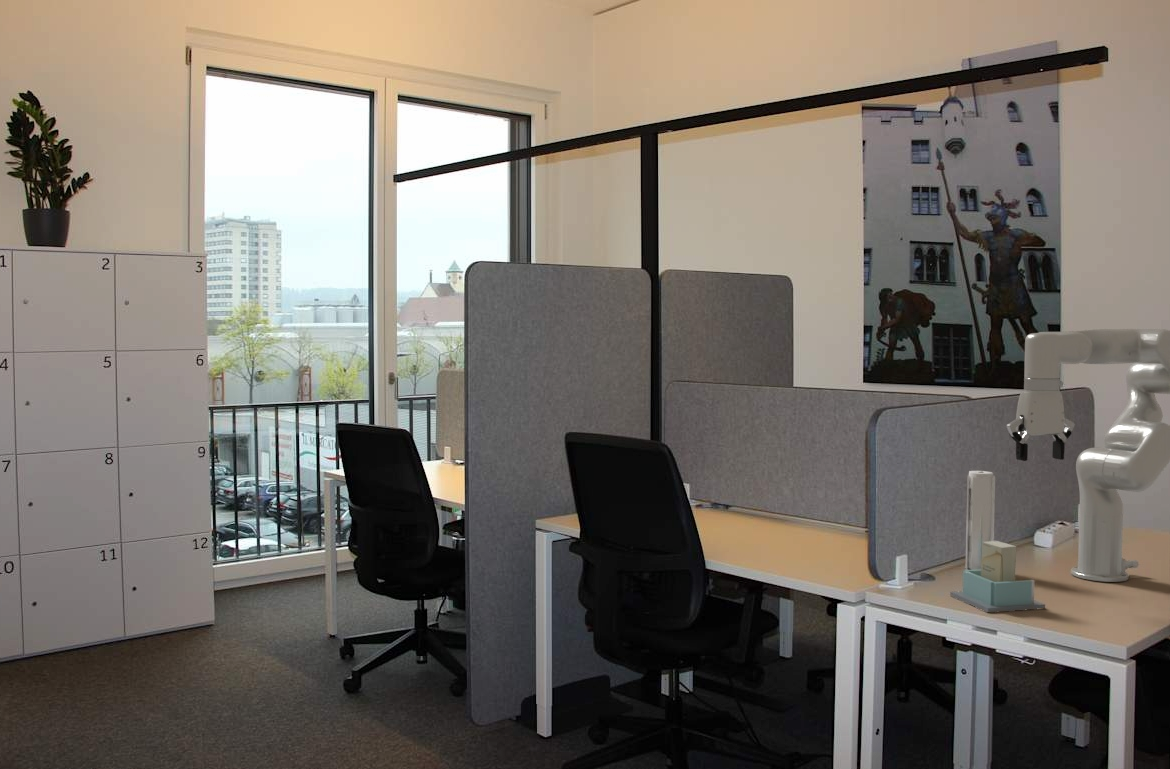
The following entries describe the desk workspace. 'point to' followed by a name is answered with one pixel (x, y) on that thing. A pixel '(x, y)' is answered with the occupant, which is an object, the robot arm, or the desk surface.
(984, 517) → the tall white box
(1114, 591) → the desk surface
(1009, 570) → the skincare box
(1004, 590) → the holder
